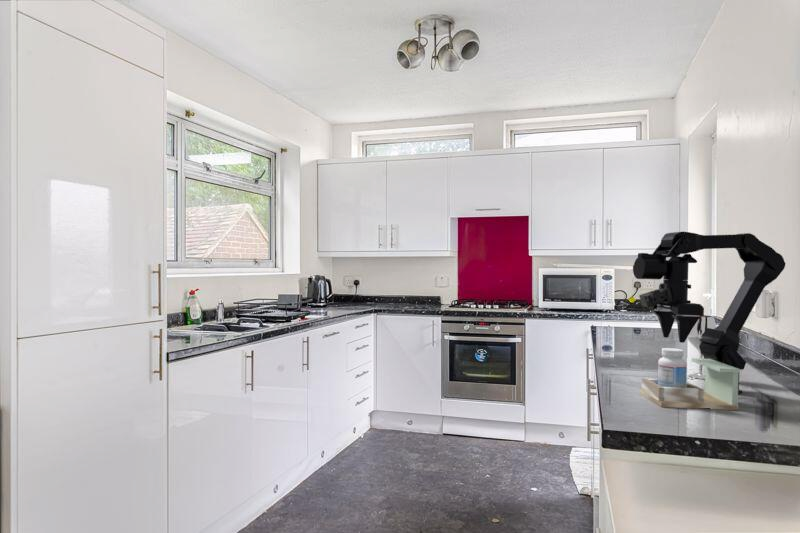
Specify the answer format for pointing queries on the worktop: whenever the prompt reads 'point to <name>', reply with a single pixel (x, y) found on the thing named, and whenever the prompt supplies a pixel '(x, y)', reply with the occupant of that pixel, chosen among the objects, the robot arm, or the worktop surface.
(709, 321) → the wineglass
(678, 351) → the pill bottle
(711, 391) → the awning
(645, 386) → the socket board
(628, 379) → the worktop surface
